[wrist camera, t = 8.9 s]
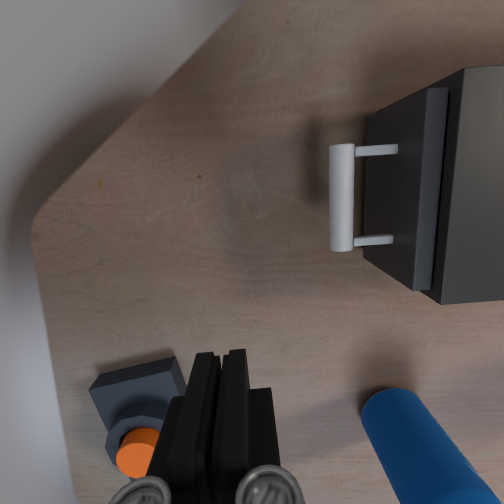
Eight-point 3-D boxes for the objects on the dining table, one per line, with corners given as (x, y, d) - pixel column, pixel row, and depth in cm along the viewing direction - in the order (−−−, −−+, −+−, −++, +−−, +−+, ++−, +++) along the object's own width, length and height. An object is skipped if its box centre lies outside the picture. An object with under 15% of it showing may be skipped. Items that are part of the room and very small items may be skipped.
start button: (117, 431, 27) (108, 448, 25) (159, 422, 27) (153, 438, 25) (132, 464, 28) (125, 483, 26) (172, 455, 28) (167, 473, 26)
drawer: (313, 261, 26) (343, 297, 18) (311, 121, 23) (345, 93, 15) (513, 246, 26) (625, 275, 18) (535, 105, 23) (679, 69, 16)
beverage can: (429, 410, 31) (537, 547, 20) (379, 442, 32) (455, 591, 21) (397, 371, 30) (494, 494, 18) (346, 405, 31) (408, 542, 19)
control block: (99, 374, 29) (77, 404, 25) (175, 356, 29) (165, 383, 25) (139, 464, 32) (125, 503, 28) (209, 448, 32) (204, 486, 28)
